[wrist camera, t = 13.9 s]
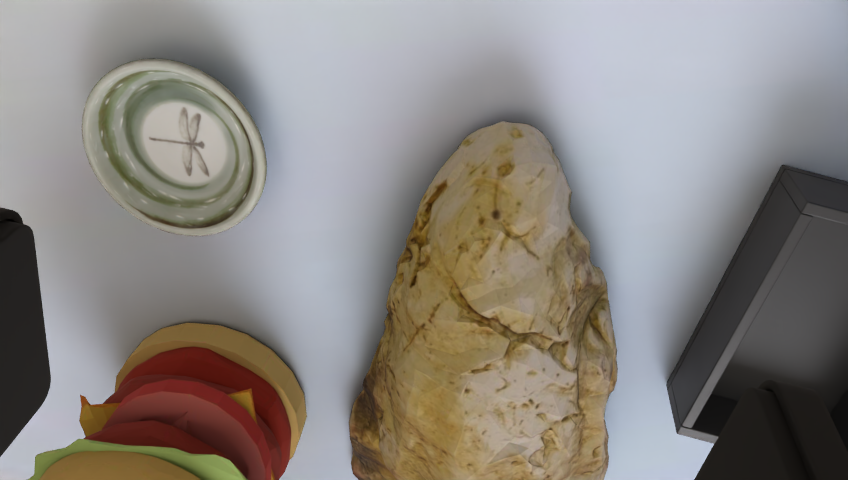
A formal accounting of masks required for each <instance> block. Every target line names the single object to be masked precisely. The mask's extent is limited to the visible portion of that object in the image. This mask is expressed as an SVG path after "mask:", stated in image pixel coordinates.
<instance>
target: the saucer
mask: <svg viewBox="0 0 848 480" xmlns="http://www.w3.org/2000/svg"><path fill="white" fill-rule="evenodd" d="M82 137H83V144H84V148H85V151H86V155H87V158H88V160H89V163H90V165H91V167H92V169H93V171H94V173H95V175H96V177H97V178H98V180H99V182H100V183H101V184H102V186H103V187H104V188H105V190H106V191H107V192H108V193H109V195H110V196H111V197H112V198H113V199H114V200H115V201H116V202H117V203H118V204H119V205H120V206H121V207H123V208H124V209H125V210H126V211H128V212H129V213H130V214H132V215H133V216H134V217H136V218H137V219H139V220H141V221H143V222H144V223H146V224H148V225H151V226H153V227H155V228H157V229H160V230H163V231H166V232H169V233H174V234H178V235H185V236H206V235H212V234H216V233H220V232H223V231H225V230H228V229H230V228H232V227H234V226H235V225H237V224H238V223H240V222H241V221H242V220H244V219H245V218H246V217H247V216H248V215H249V214H250V213H251V212H252V210H253V209H254V208H255V206H256V204H257V203H258V201H259V199H260V197H261V195H262V192H263V189H264V185H265V181H266V174H267V162H266V154H265V148H264V144H263V141H262V138H261V135H260V133H259V130H258V128H257V126H256V124H255V122H254V121H253V119H252V117H251V115H250V114H249V112H248V111H247V109H246V108H245V107H244V105H243V104H242V103H241V102H240V101H239V100H238V99H237V97H236V96H235V95H234V94H233V93H232V92H231V91H230V90H228V89H227V88H226V87H225V86H224V85H223V84H221V83H220V82H219V81H218V80H216V79H215V78H213V77H211V76H210V75H208V74H207V73H205V72H203V71H201V70H199V69H197V68H195V67H192V66H190V65H187V64H184V63H181V62H177V61H172V60H167V59H155V58H153V59H141V60H136V61H132V62H129V63H126V64H123V65H121V66H119V67H117V68H115V69H113V70H112V71H110V72H108V73H107V74H106V75H105V76H104V77H102V78H101V79H100V80H99V82H98V83H97V84H96V85H95V86H94V88H93V89H92V91H91V93H90V95H89V97H88V99H87V101H86V104H85V107H84V111H83V117H82Z"/></svg>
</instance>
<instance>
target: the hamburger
mask: <svg viewBox="0 0 848 480" xmlns="http://www.w3.org/2000/svg"><path fill="white" fill-rule="evenodd" d="M80 397H81V405H82V408H81V414H80V420H79V421H80V424H81V426H82V428H83V431H84V433H85V435H86V437H85V438H84V439H78V440H76V441H75V442H73V443H72V444H71V445H69V446H68V447H66V448H63V449H57V450H52V451H47V452H44V453H41V454H38V455H37V456H36V457H35V473H34V475H33V476H32V477H31V478H30V479H28V480H279V478H280V477H281V476H282V475H283V473H284V472H285V470H286V467H287V465H288V462H289V460H290V459H291V458H292V457H293V455H294V452H295V450H296V447H297V444H298V442H299V439H300V436H301V433H302V430H303V427H304V424H305V420H306V417H307V415H306V407H305V399H304V394H303V392H302V390H301V388H300V386H299V384H298V382H297V380H296V378H295V376H294V374H293V372H292V371H291V370H290V369H289V368H288V366H287V365H286V364H285V363H284V362H283V361H282V360H281V359H280V358H279V357H278V356H277V355H276V354H275V353H274V351H273V350H271V349H270V348H268V347H267V346H265V345H263V344H262V343H260V342H259V341H257V340H256V339H254V338H252V337H251V336H249V335H248V334H245V333H242V332H239V331H236V330H233V329H229V328H226V327H223V326H220V325H210V324H198V323H184V324H179V325H175V326H170V327H166V328H161V329H160V330H158V331H156V332H155V333H153V334H152V335H150V336H149V337H147V338H145V339H144V340H143V341H142V342H141V343H140V345H139V346H138V347H137V348H136V349H135V351H134V352H133V353H132V354H131V356H130V357H129V358H128V359H127V361H126V363H125V364H124V366H123V367H122V369H121V370H120V372H119V373H118V375H117V377H116V386H115V393H114V394H113V395H112V396H110V397H109V398H108V399H107V400H106V401H105V402H104V403H103V404H96V405H90V404H89V402H88V401H87V399H86V397H84V396H82V395H80Z"/></svg>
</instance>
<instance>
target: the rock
mask: <svg viewBox="0 0 848 480" xmlns="http://www.w3.org/2000/svg"><path fill="white" fill-rule="evenodd" d="M571 194H572V192H571V190H570V188H569V185H568V183H567V180H566V178H565V175H564V172H563V169H562V167H561V164H560V161H559V160H558V158H557V156H556V155H555V153H554V152H553V147H552V146H551V144H550V142H549V141H548V139H547V138H546V137H545V135H544V134H543V133H542V132H541V131H539V130H537V129H536V128H534V127H533V126H531V125H528V124H523V123H509V122H505V121H502V122H499V123H497V124H494V125H492V126H488V127H484V128H480V129H478V130H477V131H475V132H473V133H472V134H470V135H468V136H467V137H466V138H465V139H464V140H463V141H462V143H461V144H460V146H459V147H458V150H457V151H456V152H454V153H453V154H452V155H451V156H450V158H449V159H448V160H447V161H446V163H445V164H444V165H443V166H442V168H441V169H440V170H439V171H438V173H437V174H436V176H435V177H434V179H433V181H432V182H431V184H430V186H429V187H428V189H427V191H426V192H425V194H424V196H423V198H422V199H421V202H420V205H419V208H418V212H417V215H416V218H415V221H414V223H413V226H412V229H411V231H410V233H409V235H408V237H407V239H406V247H405V249H404V251H403V252H402V254H401V256H400V257H399V259H398V262H397V272H396V277H395V279H394V281H393V283H392V285H391V287H390V289H389V294H388V299H387V304H386V307H387V310H388V315H387V317H386V319H385V321H384V323H385V327H386V328H385V331H384V334H383V336H382V338H381V340H380V342H379V345H378V348H377V351H376V353H375V355H374V358H373V360H372V363H371V366H370V369H369V371H368V373H367V375H366V377H365V379H364V382H363V391H362V392H361V393H360V394H359V396H358V397H357V399H356V400H355V402H354V404H353V407H352V412H351V416H350V420H349V429H350V440H351V444H352V447H353V456H352V461H351V465H352V470H353V474H354V475H355V476H356V477H357V478H358V479H359V480H604V477H605V474H606V471H607V468H608V460H609V455H608V446H607V444H608V438H609V437H608V433H607V429H606V425H605V420H604V413H605V406H606V403H607V400H608V397H609V394H610V393H611V392H612V391H613V390H614V387H615V384H616V380H617V370H618V368H617V362H616V354H617V348H616V342H615V337H614V331H613V326H612V320H611V314H610V306H609V300H608V294H607V283H606V280H605V277H604V274H603V272H602V270H601V269H600V268H599V267H595V266H593V265H592V263H591V261H590V242H589V241H588V239H587V238H586V237H585V236H584V235H583V233H582V232H581V231H580V230H579V228H578V227H577V225H576V224H575V222H574V221H573V219H572V218H571V215H570V201H571Z"/></svg>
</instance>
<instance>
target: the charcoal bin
mask: <svg viewBox="0 0 848 480" xmlns="http://www.w3.org/2000/svg"><path fill="white" fill-rule="evenodd" d="M766 380H773V381H778V382H782V383H787V384H791V385H796V386H800V387H805V388H809V389H813V390H815V391H817V392H818V393H819V395H820V396H821V397H822V399H823V401H824V403H825V405H826V408H827V410H828V412H829V414H830V416H831V418H832V420H833V422H834V424H835V426H836V428H837V431H838V433H839V435H840V437H841V439H842V441H843V443H844V445H845V447H846V449H847V452H848V182H846V181H842V180H838V179H835V178H831V177H827V176H823V175H819V174H816V173H812V172H808V171H804V170H800V169H797V168H793V167H789V166H785V165H782V166H781V168H780V170H779V172H778V174H777V176H776V178H775V180H774V182H773V183H772V185H771V187H770V189H769V191H768V193H767V195H766V197H765V199H764V200H763V202H762V204H761V206H760V208H759V210H758V212H757V214H756V216H755V218H754V219H753V221H752V223H751V225H750V227H749V229H748V231H747V233H746V235H745V236H744V238H743V240H742V242H741V244H740V246H739V248H738V250H737V252H736V254H735V255H734V257H733V259H732V261H731V263H730V265H729V267H728V269H727V271H726V272H725V274H724V276H723V278H722V280H721V282H720V284H719V286H718V288H717V290H716V291H715V293H714V295H713V297H712V299H711V301H710V303H709V305H708V307H707V308H706V310H705V312H704V314H703V316H702V318H701V320H700V322H699V324H698V326H697V327H696V329H695V331H694V333H693V335H692V337H691V339H690V341H689V343H688V344H687V346H686V348H685V350H684V352H683V354H682V356H681V358H680V360H679V362H678V363H677V365H676V367H675V369H674V371H673V373H672V375H671V377H670V379H669V380H668V382H667V384H666V386H667V390H668V395H669V400H670V404H671V409H672V413H673V418H674V423H675V427H676V432H677V434H680V435H684V436H688V437H692V438H695V439H699V440H703V441H707V442H710V443H714V444H715V442H716V440H717V439H718V437H719V435H720V433H721V432H722V430H723V428H724V426H725V424H726V423H727V421H728V419H729V417H730V416H731V414H732V412H733V410H734V409H735V407H736V405H737V403H738V401H739V400H740V398H741V396H742V394H743V393H744V392H745V390H747V389H748V388H757V389H758V387H759V386H760V385H761V384H762V383H763V382H765V381H766Z"/></svg>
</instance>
